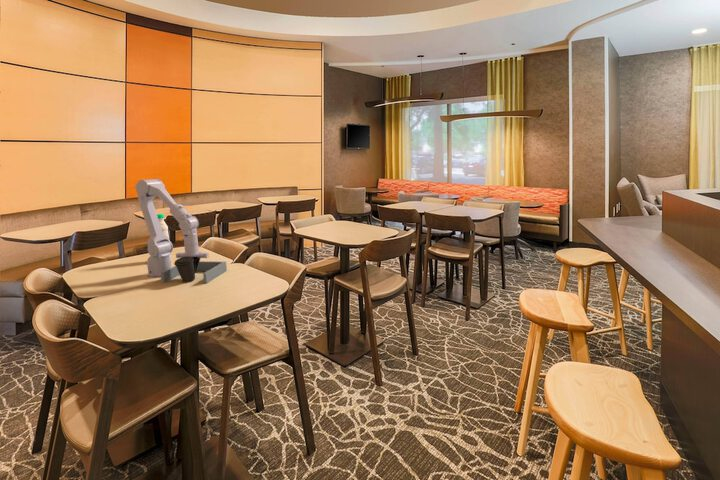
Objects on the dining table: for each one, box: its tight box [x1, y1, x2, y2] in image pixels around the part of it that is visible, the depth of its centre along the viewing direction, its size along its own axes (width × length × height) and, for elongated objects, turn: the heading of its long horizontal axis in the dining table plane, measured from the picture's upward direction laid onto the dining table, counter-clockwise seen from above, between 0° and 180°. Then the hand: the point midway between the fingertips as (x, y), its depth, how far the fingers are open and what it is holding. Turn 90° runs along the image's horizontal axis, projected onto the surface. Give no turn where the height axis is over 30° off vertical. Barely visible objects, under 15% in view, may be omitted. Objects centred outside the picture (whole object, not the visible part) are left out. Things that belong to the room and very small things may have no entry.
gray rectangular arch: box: [161, 260, 228, 285], centre depth 185 cm, size 20×20×4 cm
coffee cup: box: [173, 257, 196, 283], centre depth 177 cm, size 8×8×10 cm
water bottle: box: [157, 213, 172, 261], centre depth 212 cm, size 7×7×25 cm
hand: (194, 273), depth 183 cm, fingers closed, pressing on coffee cup
